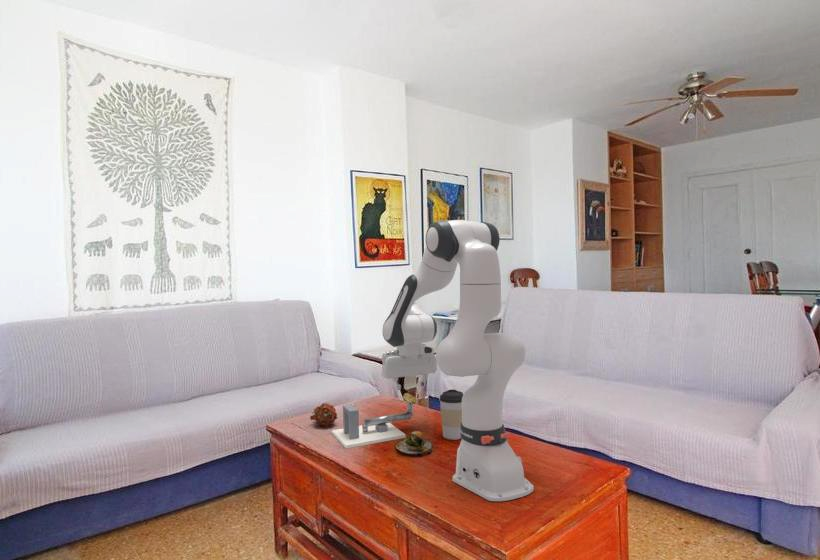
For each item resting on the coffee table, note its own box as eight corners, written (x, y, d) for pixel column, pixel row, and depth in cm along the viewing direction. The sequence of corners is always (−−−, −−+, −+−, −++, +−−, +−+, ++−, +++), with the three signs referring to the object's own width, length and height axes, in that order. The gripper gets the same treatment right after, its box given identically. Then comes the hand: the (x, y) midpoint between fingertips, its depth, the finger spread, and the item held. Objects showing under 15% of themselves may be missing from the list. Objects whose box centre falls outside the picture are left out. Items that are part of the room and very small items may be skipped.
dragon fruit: (331, 434, 174) (316, 430, 184) (347, 416, 179) (331, 413, 188) (316, 417, 172) (302, 414, 181) (333, 399, 176) (318, 397, 186)
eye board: (387, 423, 180) (387, 395, 179) (405, 437, 165) (405, 407, 165) (331, 433, 171) (331, 403, 170) (345, 448, 156) (344, 416, 156)
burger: (391, 446, 158) (390, 423, 158) (425, 441, 162) (425, 419, 162) (402, 460, 147) (401, 436, 147) (438, 455, 151) (438, 431, 150)
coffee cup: (468, 440, 161) (467, 395, 161) (440, 440, 162) (439, 395, 161) (465, 431, 170) (464, 388, 170) (439, 431, 171) (438, 388, 170)
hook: (409, 420, 178) (409, 392, 178) (416, 425, 172) (416, 396, 172) (359, 429, 170) (359, 399, 169) (365, 434, 164) (364, 404, 164)
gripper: (385, 353, 166) (386, 393, 167) (438, 347, 175) (439, 386, 175) (378, 350, 172) (379, 390, 172) (430, 345, 181) (431, 383, 181)
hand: (410, 388), depth 174 cm, fingers open, 8 cm apart
